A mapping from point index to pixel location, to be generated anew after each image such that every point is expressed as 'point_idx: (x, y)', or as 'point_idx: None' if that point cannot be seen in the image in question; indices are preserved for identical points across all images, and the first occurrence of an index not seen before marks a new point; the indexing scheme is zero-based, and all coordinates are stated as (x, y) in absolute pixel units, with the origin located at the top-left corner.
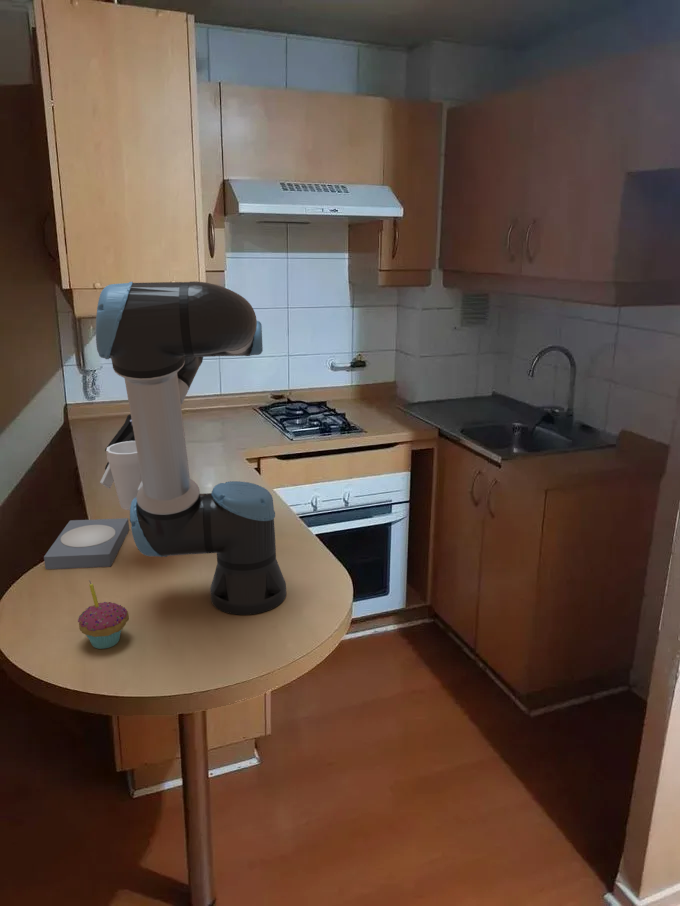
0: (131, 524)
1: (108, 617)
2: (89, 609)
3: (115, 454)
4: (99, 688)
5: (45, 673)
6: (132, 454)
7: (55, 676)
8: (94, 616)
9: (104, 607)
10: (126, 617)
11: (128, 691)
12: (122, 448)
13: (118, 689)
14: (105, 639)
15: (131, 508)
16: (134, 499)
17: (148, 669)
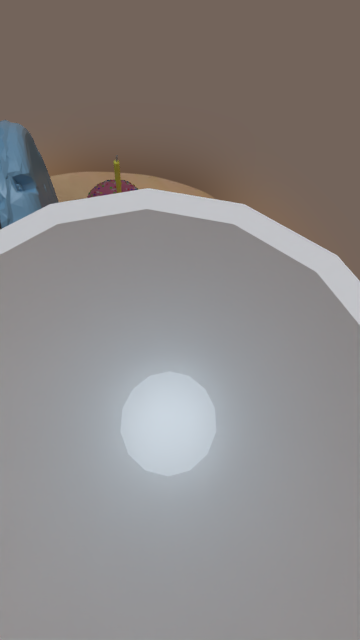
0: (38, 153)
1: (97, 185)
2: (127, 189)
3: (174, 196)
4: (93, 174)
5: (154, 180)
6: (17, 231)
7: (142, 179)
8: (114, 181)
9: (107, 190)
10: None
11: (66, 175)
12: (340, 586)
13: (76, 176)
14: None
15: (17, 123)
16: (10, 135)
17: (58, 200)
